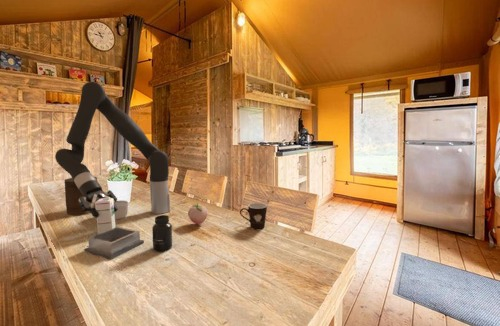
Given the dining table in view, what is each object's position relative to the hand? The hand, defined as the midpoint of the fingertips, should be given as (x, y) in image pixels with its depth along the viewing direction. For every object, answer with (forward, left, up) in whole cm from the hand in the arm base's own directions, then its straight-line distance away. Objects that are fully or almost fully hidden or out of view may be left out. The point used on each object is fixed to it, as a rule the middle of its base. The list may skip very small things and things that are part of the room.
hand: (107, 213), depth 105 cm
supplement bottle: (-19, +25, -9) cm, 33 cm away
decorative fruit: (-37, +7, -9) cm, 39 cm away
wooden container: (+15, -40, -9) cm, 43 cm away
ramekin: (-1, -22, -9) cm, 24 cm away
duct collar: (-3, +17, -8) cm, 19 cm away
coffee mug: (-60, +21, -9) cm, 64 cm away
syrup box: (+1, -1, -9) cm, 9 cm away
